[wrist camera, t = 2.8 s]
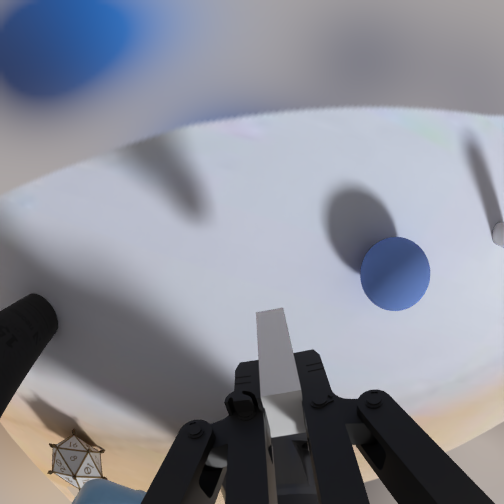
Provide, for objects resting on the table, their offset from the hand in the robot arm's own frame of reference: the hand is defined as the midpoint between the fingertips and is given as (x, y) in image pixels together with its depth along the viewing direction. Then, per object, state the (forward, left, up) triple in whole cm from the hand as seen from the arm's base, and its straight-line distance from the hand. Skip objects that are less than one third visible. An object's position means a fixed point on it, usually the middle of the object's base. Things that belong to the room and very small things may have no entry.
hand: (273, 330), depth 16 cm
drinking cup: (-22, +4, -7) cm, 24 cm away
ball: (+9, -2, -5) cm, 11 cm away
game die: (-31, -15, -8) cm, 36 cm away
